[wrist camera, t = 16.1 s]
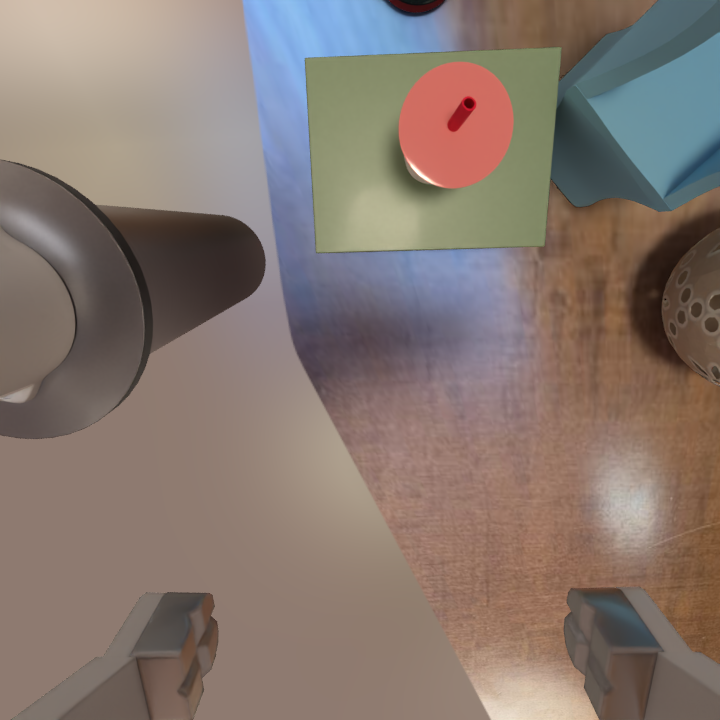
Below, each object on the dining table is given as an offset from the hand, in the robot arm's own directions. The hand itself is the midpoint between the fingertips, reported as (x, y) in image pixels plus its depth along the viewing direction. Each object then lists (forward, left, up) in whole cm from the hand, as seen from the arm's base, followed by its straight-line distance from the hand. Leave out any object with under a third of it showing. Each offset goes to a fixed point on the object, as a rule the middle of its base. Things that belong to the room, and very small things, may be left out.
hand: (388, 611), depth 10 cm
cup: (+4, +13, -24) cm, 28 cm away
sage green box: (+4, +13, -34) cm, 37 cm away
